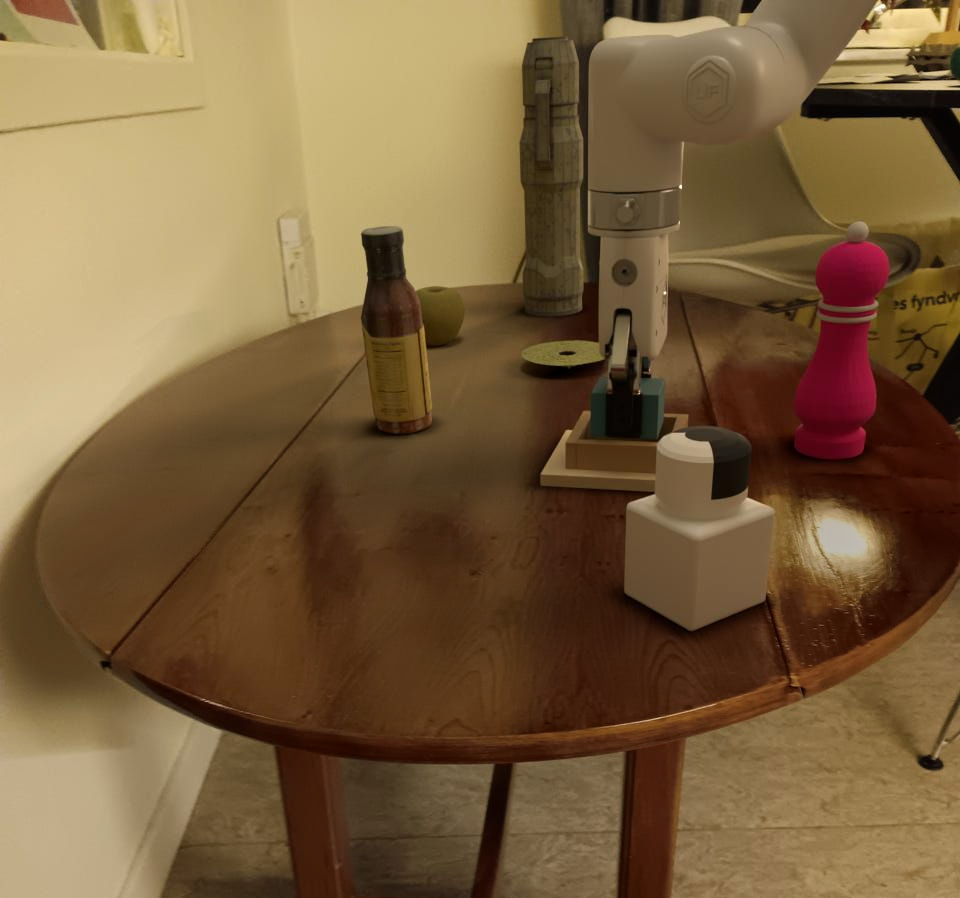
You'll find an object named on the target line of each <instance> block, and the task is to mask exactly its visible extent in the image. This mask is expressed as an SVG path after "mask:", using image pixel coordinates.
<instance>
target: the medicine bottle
mask: <svg viewBox="0 0 960 898" xmlns="http://www.w3.org/2000/svg"><path fill="white" fill-rule="evenodd" d="M752 448H753V447H752V444H751V443H750V442H749V440H748V439H747V437H745V436H744V435H743V434H741V433H739V432H735V431H733V430H731V429H728V428H725V427H720V426H714V425H713V426H712V425H692V426H688V427H686V428H682V429H678V430H676V431H673V432H670V433H668V434H666V435H665V436H663V437H662V439H661V440H660V441H659V442H658V443H657V453H656V477H655V492H654V494H651V495H648V496H645V497H643V498H639V499H636V500H633V501H630V502H628V503H627V505H626V507H625V508H626V509H625V510H626V511H625V544H624V545H625V546H624V581H623V582H624V586H623V591H624V594H625V595H626V596H628V597H630V598H631V599H633V600H635V601H637V602H638V603H640V604H642V605H644V606H645V607H648V608H649V609H651V610H653V611H654V612H656V613H658V614H659V615H661V616H663V617H665V618H666V619H668V620H670V621H672V622H673V623H675V624H677V625H678V626H680V627H681V628H684V629H685V630H687V631H689V632H694V631H696V630H697V631H698V630H699V629H702V628H704V627H707V626H709V625H711V624H714V623H716V622H718V621H721V620H723V619H725V618H728V617H730V616H733V615H736V614H738V613H740V612H743V611H745V610H747V609H750V608H752V607H755V606H757V605H759V604H762V603H763V602H765V601H766V599H767V589H768V579H769V570H770V563H771V562H770V561H771V554H772V544H773V534H774V533H773V532H774V525H775V515H776V511H775V509H774V508H773V507H772V506H768V505H766V504H764V503H762V502H759V501H757V500H754V499H752V498H749V497H748V492H749V481H750V470H751V459H752Z"/></svg>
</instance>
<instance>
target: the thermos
mask: <svg viewBox="0 0 960 898" xmlns="http://www.w3.org/2000/svg"><path fill="white" fill-rule="evenodd" d="M576 50H577V49H576V47H575V43H574V40H573V39H569V38H568V36H551V37H535V38H532V40H531V42H530V41H529V42H527V43H526V46H525V51H524V54H523V59H522V63H521V73H522V74H521V81H522V83H521V85H522V106H524V108H523V109H524V110H523V111H524V117H523V118H522V125H523V126H522V131H521V134H520V138H519V143H518V144H519V175H520V177H519V179H520V184H521V187H522V189H523V197H524V198H523V201H524V237H525V239H524V241H525V243H524V245H525V264H524V267H523V271H522V294H523V297H524V312H525V314H528V315H531V316H536V317H564V316H569V315H574V314H577V313H579V312H581V311H582V310H583V298H582V297H583V293H584V267H583V263H582V260H581V255H580V254H581V252H580V250H581V246H580V245H581V242H580V241H581V238H580V237H581V235H580V233H581V231H580V230H581V228H580V225H581V224H580V223H581V222H580V221H581V217H580V216H581V215H580V214H581V213H580V212H581V208H580V207H581V199H580V197H581V194H580V193H581V185H582V183H583V180H584V136H583V134H582V130H581V127H580V115H579V114H578V104H579V102H580V62H579V58H578V54H577V51H576Z"/></svg>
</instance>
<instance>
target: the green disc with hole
mask: <svg viewBox="0 0 960 898" xmlns="http://www.w3.org/2000/svg"><path fill="white" fill-rule="evenodd" d="M520 356H521V358H522V359H524V360H526V361H528V362H532V363H533V364H537V365H538V364H540V365H546V366H557V367H558V366H561V368H562V369H564V368H567V370H569V369H571V368H572V367H573V368H575V367H576V366H578V365H581V366H582V365H583V364H584V365H585V364H591V363H595V362H600V361H603V360H605V359H604V358H603V357H602V356H601V355H600V352H599V342H595V341H589V340H580V339H577V340H576V339H575V340H573V339H572V340H558V341H557V340H555V341H551V342H550V341H549V342H543V343H537V344H534V345H532V346H528V347H526V348H525V349H523V350H522V351H521V354H520Z"/></svg>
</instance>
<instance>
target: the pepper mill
mask: <svg viewBox="0 0 960 898" xmlns="http://www.w3.org/2000/svg"><path fill="white" fill-rule="evenodd" d="M869 233H870V231H869V227H868V225H867V224H866V222H863V221H860V220H859V221H855V222H852V223H851V224H850V225H849V226H848V228H847V229H846V233H845V234H846V235H845V236H846V239H847V241H846V240H845V241H842V242H839V243H837V244H836V243H835V244H834V245H833V246H830V247H829V248H828V249H827V250H826V251H825V252H824V253H823V254H822V255H821V256H820V258H819V260H818V263H817V266H816V269H815V277H814V281H815V285H816V288H817V290H818V291H819V293H820V294H821V295H822V298H821V299H819V300H818V302H817V306H818V310H817V311H816V317H817V318H818V319H820V327H819V335H818V340H817V344H816V348H815V350H814V353H813V355H812V359H811V361H810V362H809V364H808V366H807V368H806V369H805V371H804V373H803V375H802V376H801V378H800V380H799V383H798V386H797V388H796V390H795V393H794V397H793V404H792V405H793V406H792V407H793V411H794V414H795V415H796V417H797V418H798V420H799V421H800V422H801V424H799V425H798V426H797V427H796V428H795V434H794V442H793V443H794V444H793V445H794V449H795V450H796V451H797V452H798V453H800V454H802V455H804V456H806V457H811V458H815V459H820V460H822V459H823V460H844V459H845V460H846V459H851V458H854V457H855V458H856V457H857V456H859V455H861V454H862V453H863V451H864V448H865V442H866V435H867V433H866V430H865V429H864V428H863V427H862V426H864V425H865V424H866V423H867V422H868V421H869V420H871V418H872V417H873V416H874V414H875V412H876V409H877V387H876V382H875V378H874V375H873V371H872V367H871V363H870V360H869V352H868V342H869V341H868V340H869V331H870V326H871V322H872V321H873V320H875V319H876V317H877V316H878V314H877V308H878V307H879V301H877V300H876V297H877V296H878V295H879V293H880V292H882V291H883V290H884V288H885V287H886V285H887V283H888V281H889V277H890V262H889V256H887V254H886V252H885V250H884V249H882V247H880V246H879V245H877V244H876V243H873V242H869V241H866V239H867V238H868V236H869Z"/></svg>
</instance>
